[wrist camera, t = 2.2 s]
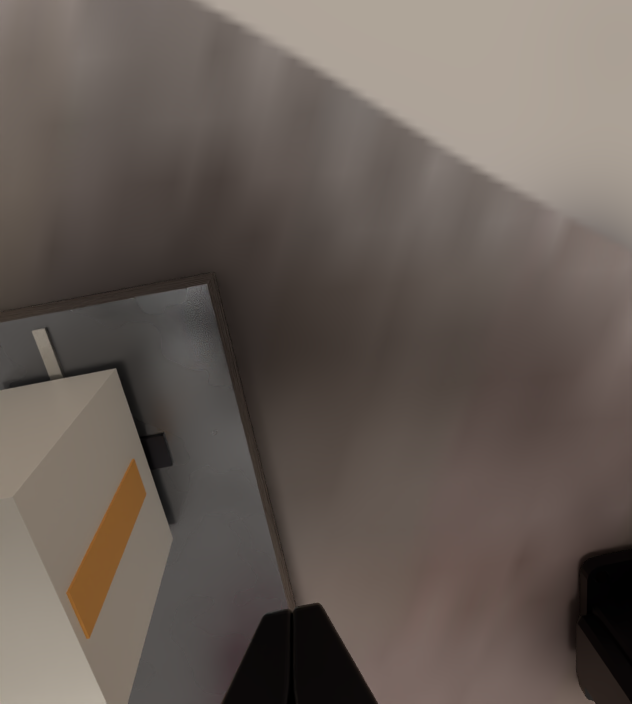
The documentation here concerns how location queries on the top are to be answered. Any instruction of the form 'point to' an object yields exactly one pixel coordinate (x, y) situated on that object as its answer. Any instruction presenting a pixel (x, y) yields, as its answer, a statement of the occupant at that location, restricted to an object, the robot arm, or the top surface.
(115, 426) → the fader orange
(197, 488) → the mixer panel
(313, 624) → the robot arm
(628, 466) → the top surface
